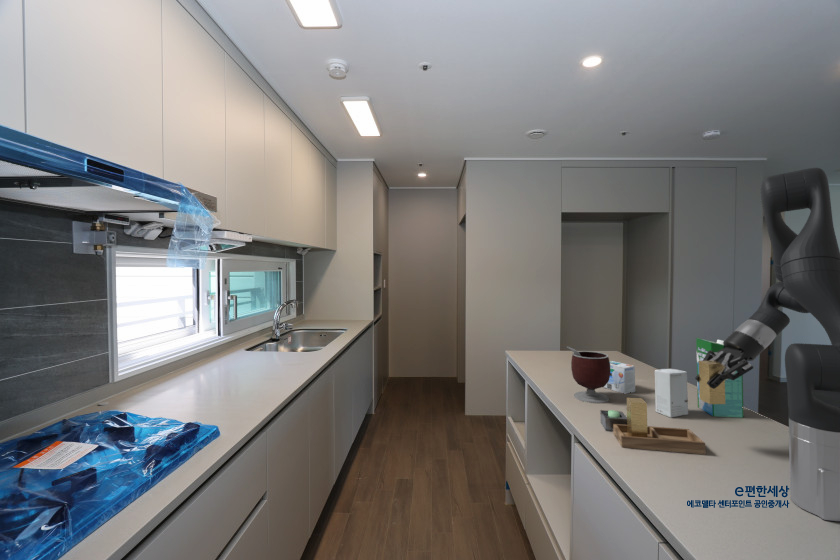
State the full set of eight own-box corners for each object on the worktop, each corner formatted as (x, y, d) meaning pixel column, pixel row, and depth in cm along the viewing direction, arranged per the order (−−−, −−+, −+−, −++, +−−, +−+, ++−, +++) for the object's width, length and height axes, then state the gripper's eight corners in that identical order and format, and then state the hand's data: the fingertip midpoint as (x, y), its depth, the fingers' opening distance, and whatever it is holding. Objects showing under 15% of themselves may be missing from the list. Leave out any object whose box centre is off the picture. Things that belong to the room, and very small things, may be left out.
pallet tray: (705, 454, 95) (705, 443, 95) (622, 447, 100) (621, 436, 100) (689, 439, 104) (688, 429, 104) (613, 433, 109) (612, 423, 109)
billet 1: (647, 442, 100) (646, 403, 100) (631, 440, 101) (630, 402, 101) (642, 435, 104) (641, 398, 104) (627, 434, 105) (626, 397, 105)
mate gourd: (606, 393, 145) (605, 344, 145) (614, 405, 132) (613, 351, 132) (565, 390, 150) (564, 343, 149) (569, 402, 136) (568, 349, 136)
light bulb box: (601, 387, 153) (601, 362, 153) (612, 384, 156) (611, 360, 156) (625, 394, 143) (624, 367, 143) (636, 391, 146) (635, 365, 146)
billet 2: (725, 404, 97) (724, 364, 97) (709, 404, 98) (708, 364, 98) (714, 399, 101) (713, 360, 101) (699, 399, 102) (698, 360, 102)
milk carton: (743, 418, 118) (742, 342, 117) (712, 416, 119) (711, 342, 119) (726, 408, 126) (724, 337, 126) (697, 406, 128) (696, 337, 128)
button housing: (628, 432, 109) (628, 419, 109) (605, 430, 111) (605, 417, 111) (622, 423, 115) (622, 411, 115) (600, 422, 117) (600, 410, 117)
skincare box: (670, 418, 119) (670, 373, 119) (654, 411, 125) (653, 369, 125) (689, 414, 121) (688, 371, 121) (672, 408, 127) (671, 367, 127)
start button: (621, 427, 111) (620, 414, 111) (609, 426, 112) (609, 413, 112) (618, 422, 114) (617, 410, 114) (607, 422, 115) (606, 409, 115)
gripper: (719, 326, 106) (677, 368, 107) (761, 334, 92) (712, 381, 93) (738, 344, 106) (696, 385, 107) (784, 354, 91) (734, 402, 92)
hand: (704, 383), depth 100 cm, fingers closed on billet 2, 4 cm apart
